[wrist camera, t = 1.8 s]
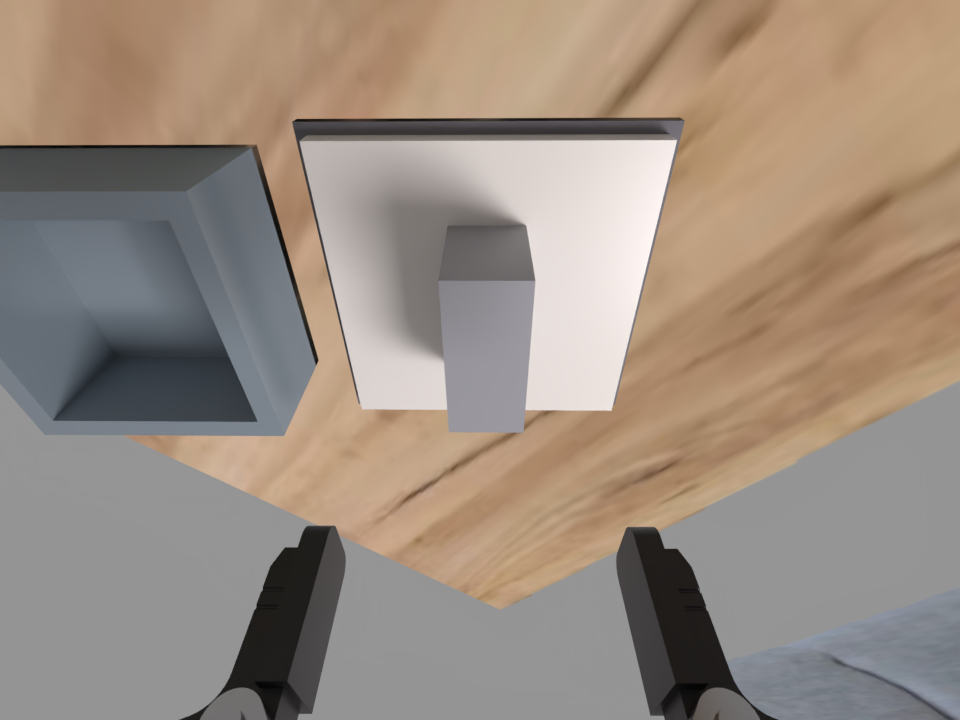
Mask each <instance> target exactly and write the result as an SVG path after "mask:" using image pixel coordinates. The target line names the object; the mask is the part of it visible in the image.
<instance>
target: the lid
mask: <svg viewBox="0 0 960 720" xmlns="http://www.w3.org/2000/svg"><path fill="white" fill-rule="evenodd" d="M299 142H300V146H301V150H302V155H303V159H304V163H305V168H306V172H307V176H308V180H309V185H310V189H311V193H312V198H313V202H314V206H315V211H316V215H317V219H318V223H319V228H320V232H321V236H322V241H323V245H324V249H325V254H326V258H327V262H328V266H329V271H330V275H331V279H332V284H333V288H334V292H335V297H336V301H337V305H338V309H339V314H340V318H341V322H342V327H343V331H344V335H345V339H346V344H347V348H348V352H349V357H350V361H351V365H352V370H353V374H354V378H355V382H356V387H357V391H358V395H359V400H360V404H361V408H362V409H378V410H447V413H448V427H449V432H485V433H524V421H525V410H584V411H612V407H613V403H614V398H615V394H616V390H617V386H618V382H619V378H620V374H621V370H622V365H623V361H624V357H625V353H626V349H627V345H628V341H629V337H630V332H631V328H632V324H633V320H634V316H635V312H636V308H637V304H638V300H639V295H640V291H641V287H642V283H643V279H644V275H645V271H646V267H647V262H648V258H649V254H650V250H651V246H652V242H653V238H654V234H655V229H656V225H657V221H658V217H659V213H660V209H661V205H662V201H663V197H664V192H665V188H666V184H667V180H668V176H669V172H670V168H671V164H672V159H673V155H674V151H675V147H676V143H677V140H676V139H675V138H674V137H672V136H671V135H670V134H533V135H307V136H305V137H304V138H303V139H302V140H300V141H299Z"/></svg>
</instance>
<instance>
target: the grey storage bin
mask: <svg viewBox="0 0 960 720" xmlns="http://www.w3.org/2000/svg"><path fill="white" fill-rule="evenodd" d="M318 361H319V359H318V356H317V352H316V349H315V345H314V342H313V339H312V335H311V332H310V328H309V325H308V321H307V318H306V314H305V311H304V307H303V304H302V300H301V297H300V293H299V290H298V286H297V283H296V279H295V276H294V272H293V269H292V265H291V262H290V259H289V255H288V252H287V248H286V245H285V241H284V238H283V234H282V231H281V227H280V224H279V220H278V217H277V213H276V210H275V206H274V203H273V199H272V196H271V192H270V189H269V185H268V182H267V179H266V175H265V172H264V168H263V165H262V161H261V158H260V154H259V151H258V147H257V145H0V384H1V385H2V387H3V388H4V389H5V390H6V391H7V392H8V393H9V395H10V396H11V397H12V398H13V399H14V400H15V401H16V403H17V404H18V405H19V406H20V407H21V408H22V409H23V411H24V412H25V413H26V414H27V415H28V416H29V417H30V419H31V420H32V421H33V422H34V423H35V424H36V425H37V426H38V428H39V429H40V430H41V431H42V432H43V433H44V434H45V435H175V436H284V435H285V433H286V431H287V429H288V427H289V424H290V422H291V420H292V418H293V416H294V413H295V411H296V409H297V407H298V405H299V402H300V400H301V398H302V396H303V394H304V392H305V389H306V387H307V385H308V383H309V381H310V378H311V376H312V374H313V372H314V370H315V367H316V365H317V363H318Z"/></svg>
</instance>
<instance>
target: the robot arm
mask: <svg viewBox="0 0 960 720" xmlns="http://www.w3.org/2000/svg"><path fill="white" fill-rule="evenodd" d="M345 566H346V555H345V551H344V548H343V545H342V542H341V540H340V537H339V534H338V531H337V528H336V527H335V526H306V528H305V529H304V531H303V533H302V536H301V539H300V542H299V545H298V547H285V548H284V549H283V550H282V552H281V553H280V554H279V556H278V557H277V558H276V559H275V561H274V562H273V563H272V565H271V566H270V568H269V571H268V574H267V577H266V579H265V582H264V585H263V590H262V592H261V593H260V596H259V599H258V601H257V604H256V609H255V610H254V612H253V615H252V618H251V621H250V623H249V626H248V629H247V631H246V634H245V637H244V640H243V642H242V645H241V648H240V651H239V653H238V656H237V659H236V662H235V664H234V667H233V670H232V673H231V675H230V677H229V679H228V681H227V683H226V685H225V686H224V688H223V689H222V691H221V692H220V693H219V694H218V695H217V697H216V698H215V699H214V700H213V701H212V702H211V703H210V704H208V705H207V706H206V707H204V708H203V709H201V710H200V711H198V712H196V713H194V714H192V715H190V716H187V717H185V718H182V719H180V720H297V719H298V715H299V714H312V712H313V708H314V703H315V699H316V695H317V690H318V686H319V682H320V677H321V673H322V669H323V665H324V660H325V656H326V652H327V647H328V643H329V639H330V635H331V630H332V626H333V622H334V617H335V613H336V609H337V604H338V600H339V596H340V592H341V587H342V583H343V579H344V574H345ZM616 568H617V576H618V580H619V584H620V589H621V593H622V597H623V601H624V606H625V610H626V614H627V618H628V623H629V627H630V631H631V635H632V640H633V644H634V648H635V652H636V657H637V661H638V665H639V669H640V674H641V678H642V682H643V686H644V691H645V695H646V699H647V703H648V708H649V712H650V716H664V718H665V720H778V719H775V718H773V717H771V716H768V715H766V714H765V713H763V712H762V711H760V710H759V709H757V708H756V707H755V706H754V705H753V704H751V703H750V702H749V701H748V700H747V699H746V697H745V696H744V695H743V694H742V692H741V691H740V690H739V688H738V687H737V685H736V683H735V681H734V679H733V677H732V675H731V672H730V669H729V666H728V664H727V661H726V658H725V656H724V653H723V650H722V647H721V645H720V642H719V639H718V637H717V634H716V631H715V628H714V626H713V623H712V620H711V618H710V615H709V612H708V611H707V609H706V604H705V601H704V599H703V596H702V593H700V588H699V585H698V582H697V580H696V577H695V574H694V571H693V569H692V567H691V565H690V564H689V563H688V562H687V560H686V559H685V558H684V556H683V555H682V554H681V553H680V551H679V550H678V549H665V548H664V545H663V542H662V539H661V536H660V533H659V531H658V530H657V529H656V528H655V527H627V528H626V530H625V533H624V535H623V538H622V541H621V544H620V546H619V549H618V552H617V556H616Z"/></svg>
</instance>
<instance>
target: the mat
mask: <svg viewBox="0 0 960 720" xmlns="http://www.w3.org/2000/svg"><path fill="white" fill-rule="evenodd" d="M684 122H685V120H683V119H682V118H680V117H667V118H385V119H296V120H294V121H293V122H292V124H293V128H294V133H295V137H296V141H297V145H298V150H299V154H300V158H301V162H302V167H303V171H304V175H305V179H306V183H307V188H308V192H309V196H310V200H311V205H312V209H313V213H314V217H315V222H316V226H317V230H318V234H319V239H320V243H321V247H322V251H323V255H324V260H325V264H326V268H327V272H328V277H329V281H330V285H331V289H332V294H333V298H334V302H335V306H336V310H337V315H338V319H339V323H340V327H341V332H342V336H343V340H344V344H345V349H346V353H347V357H348V361H349V366H350V370H351V374H352V378H353V382H354V387H355V391H356V395H357V399H358V404H360V400H359V395H358V391H357V387H356V382H355V378H354V374H353V370H352V365H351V361H350V357H349V352H348V348H347V344H346V339H345V335H344V331H343V327H342V322H341V318H340V314H339V309H338V305H337V301H336V297H335V292H334V288H333V284H332V279H331V275H330V271H329V266H328V262H327V258H326V254H325V249H324V245H323V241H322V236H321V232H320V228H319V223H318V219H317V215H316V211H315V206H314V202H313V198H312V193H311V189H310V185H309V180H308V176H307V172H306V168H305V163H304V159H303V155H302V150H301V146H300V142H299V141H300V140H302V139H303V138H304V137H305V136H307V135H533V134H670V135H671V136H672V137H674V138H675V139H676V140H677V143H676V147H675V151H674V155H673V159H672V164H671V168H670V172H669V176H668V180H667V184H666V188H665V192H664V197H663V201H662V205H661V209H660V213H659V217H658V221H657V225H656V229H655V234H654V238H653V242H652V246H651V250H650V254H649V258H648V262H647V267H646V271H645V275H644V279H643V283H642V287H641V291H640V295H639V300H638V304H637V308H636V312H635V316H634V320H633V324H632V328H631V332H630V337H629V341H628V345H627V349H626V353H625V357H624V361H623V365H622V370H621V374H620V378H619V382H618V386H617V390H616V394H615V398H614V403H613V405H615V402H616V398H617V394H618V390H619V386H620V382H621V378H622V374H623V370H624V366H625V362H626V358H627V354H628V349H629V345H630V341H631V337H632V333H633V329H634V325H635V321H636V317H637V313H638V309H639V305H640V301H641V297H642V293H643V289H644V285H645V280H646V276H647V272H648V268H649V264H650V260H651V256H652V252H653V248H654V244H655V240H656V236H657V232H658V228H659V224H660V220H661V215H662V211H663V207H664V203H665V199H666V195H667V191H668V187H669V183H670V179H671V175H672V171H673V167H674V163H675V159H676V155H677V151H678V146H679V142H680V138H681V134H682V130H683V126H684Z"/></svg>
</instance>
